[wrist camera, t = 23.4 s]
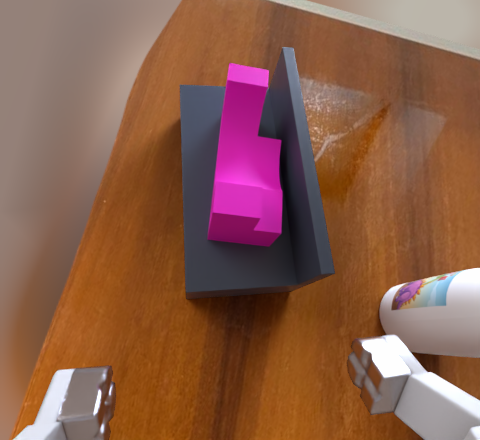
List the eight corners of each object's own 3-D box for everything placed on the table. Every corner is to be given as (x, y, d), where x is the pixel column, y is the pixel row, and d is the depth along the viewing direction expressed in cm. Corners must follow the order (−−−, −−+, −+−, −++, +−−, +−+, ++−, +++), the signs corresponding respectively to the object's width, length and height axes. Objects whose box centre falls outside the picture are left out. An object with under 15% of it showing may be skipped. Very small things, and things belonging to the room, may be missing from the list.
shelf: (186, 299, 35) (184, 283, 23) (181, 117, 42) (178, 40, 31) (290, 291, 37) (335, 273, 25) (267, 119, 44) (293, 47, 33)
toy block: (269, 246, 32) (291, 222, 25) (207, 239, 31) (212, 212, 24) (274, 123, 37) (294, 74, 30) (221, 115, 36) (229, 63, 29)
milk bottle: (445, 346, 37) (703, 358, 19) (388, 357, 36) (604, 384, 17) (423, 281, 40) (631, 234, 21) (369, 289, 38) (540, 247, 20)
